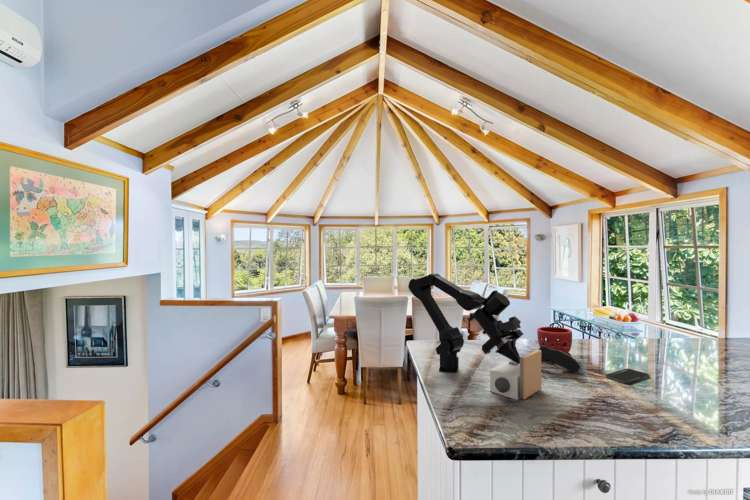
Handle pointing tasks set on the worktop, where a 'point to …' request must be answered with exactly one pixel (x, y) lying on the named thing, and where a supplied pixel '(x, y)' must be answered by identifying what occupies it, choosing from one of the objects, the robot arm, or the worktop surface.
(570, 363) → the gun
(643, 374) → the phone
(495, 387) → the white box
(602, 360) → the worktop surface
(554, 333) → the plant pot
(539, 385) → the tan flat square panel
